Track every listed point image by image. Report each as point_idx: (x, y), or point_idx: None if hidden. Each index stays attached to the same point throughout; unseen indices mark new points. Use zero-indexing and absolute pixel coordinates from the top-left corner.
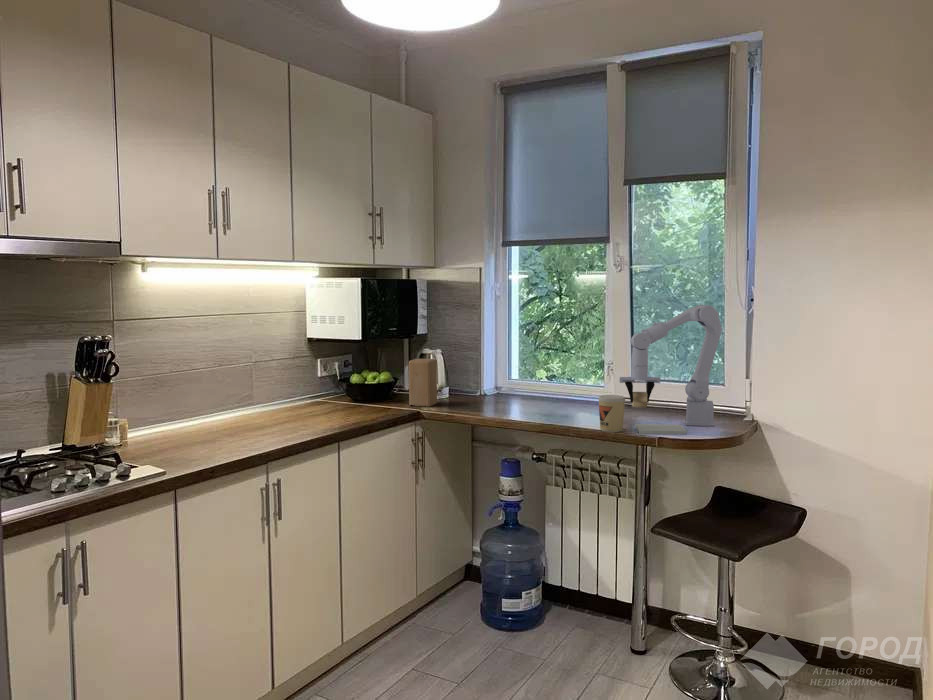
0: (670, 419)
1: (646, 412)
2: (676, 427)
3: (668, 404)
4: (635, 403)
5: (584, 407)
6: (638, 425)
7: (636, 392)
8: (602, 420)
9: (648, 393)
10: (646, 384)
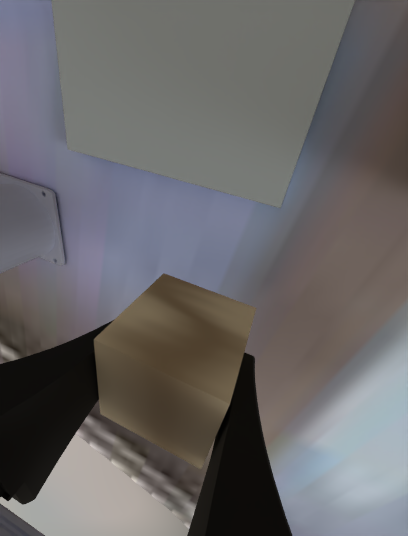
0: (100, 313)
1: None
2: (88, 58)
3: (89, 438)
4: (233, 319)
5: (290, 524)
6: (284, 153)
7: (174, 431)
8: None
9: (83, 349)
10: (34, 480)
